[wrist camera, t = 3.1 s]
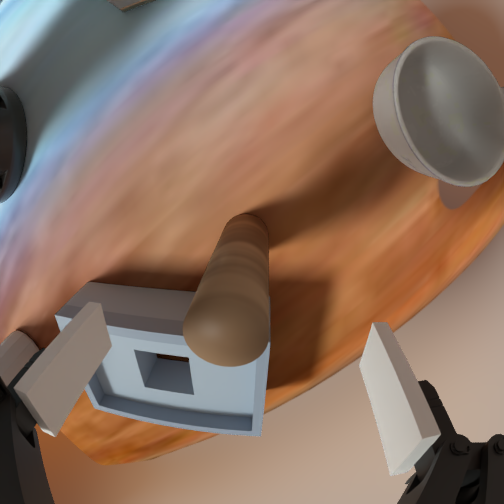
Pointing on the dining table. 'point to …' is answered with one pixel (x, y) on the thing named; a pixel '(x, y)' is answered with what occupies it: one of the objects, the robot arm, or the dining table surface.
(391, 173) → the dining table surface
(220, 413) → the box
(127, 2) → the cabinet
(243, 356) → the peg
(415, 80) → the teacup
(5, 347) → the water bottle
